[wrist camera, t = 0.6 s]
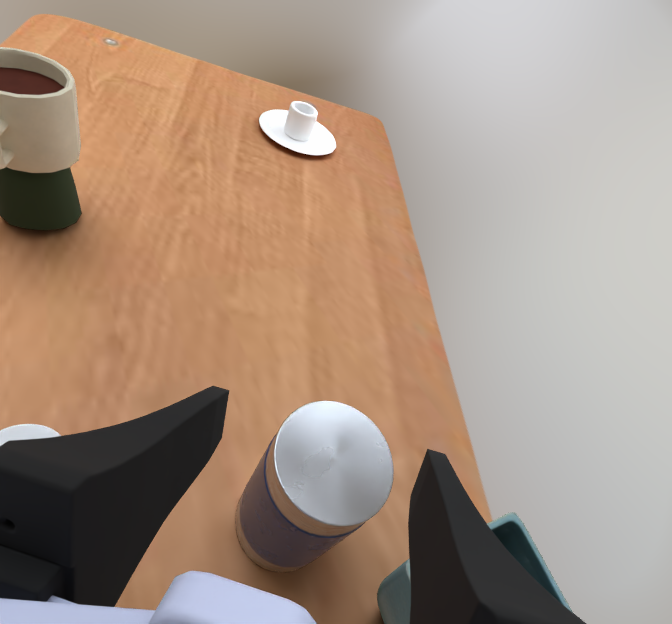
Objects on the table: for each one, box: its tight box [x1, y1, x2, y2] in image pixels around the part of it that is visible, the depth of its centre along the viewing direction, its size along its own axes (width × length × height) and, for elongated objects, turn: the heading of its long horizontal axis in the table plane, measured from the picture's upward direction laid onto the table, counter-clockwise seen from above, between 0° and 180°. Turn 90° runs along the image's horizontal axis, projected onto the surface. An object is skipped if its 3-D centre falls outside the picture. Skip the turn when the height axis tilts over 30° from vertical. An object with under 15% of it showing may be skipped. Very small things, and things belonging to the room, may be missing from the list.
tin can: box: [235, 401, 393, 572], centre depth 26 cm, size 7×7×11 cm
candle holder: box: [259, 101, 336, 155], centre depth 64 cm, size 12×12×4 cm
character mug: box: [0, 47, 81, 230], centre depth 35 cm, size 11×7×13 cm, turn 2°
